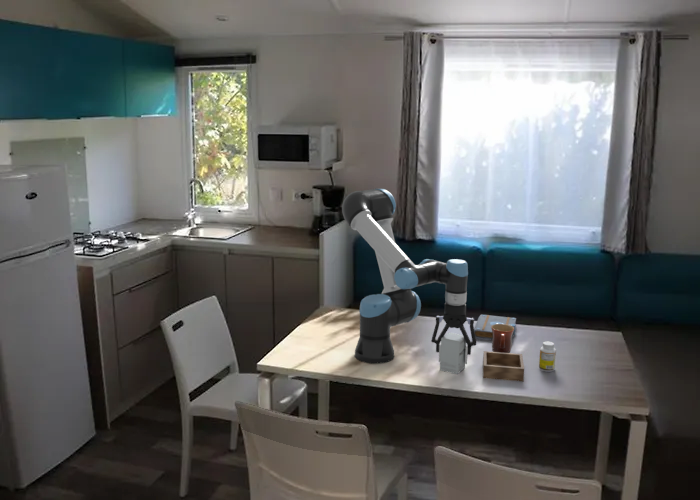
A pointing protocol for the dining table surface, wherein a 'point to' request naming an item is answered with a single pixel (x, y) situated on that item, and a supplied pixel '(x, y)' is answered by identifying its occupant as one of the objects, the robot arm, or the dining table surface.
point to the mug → (502, 338)
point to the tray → (503, 366)
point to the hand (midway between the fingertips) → (452, 361)
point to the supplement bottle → (547, 357)
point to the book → (487, 321)
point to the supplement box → (452, 353)
